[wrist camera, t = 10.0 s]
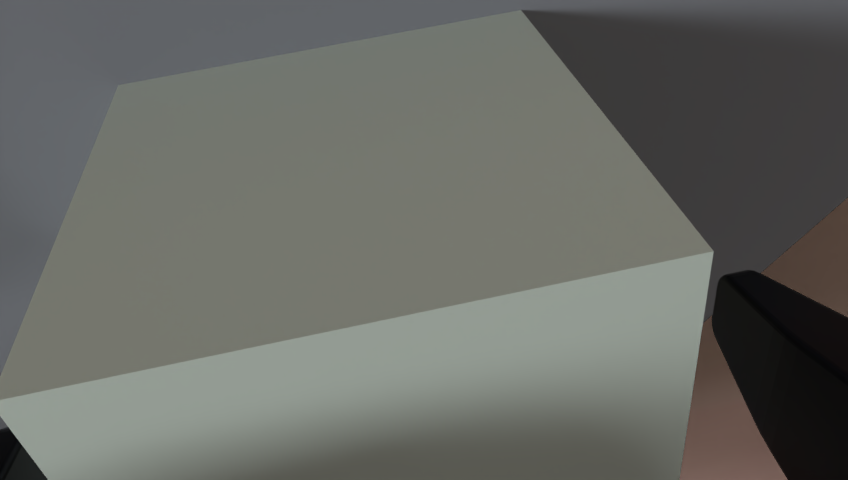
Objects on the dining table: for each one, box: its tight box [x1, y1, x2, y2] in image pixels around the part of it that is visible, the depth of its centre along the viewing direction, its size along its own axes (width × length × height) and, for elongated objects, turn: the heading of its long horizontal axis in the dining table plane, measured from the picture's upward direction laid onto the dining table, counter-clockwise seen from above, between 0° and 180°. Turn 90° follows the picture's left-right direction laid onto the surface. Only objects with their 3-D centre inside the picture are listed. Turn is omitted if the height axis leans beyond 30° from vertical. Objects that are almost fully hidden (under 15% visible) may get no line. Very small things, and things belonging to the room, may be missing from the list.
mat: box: [0, 0, 848, 429], centre depth 13 cm, size 16×16×1 cm
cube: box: [0, 10, 714, 480], centre depth 10 cm, size 6×6×6 cm
